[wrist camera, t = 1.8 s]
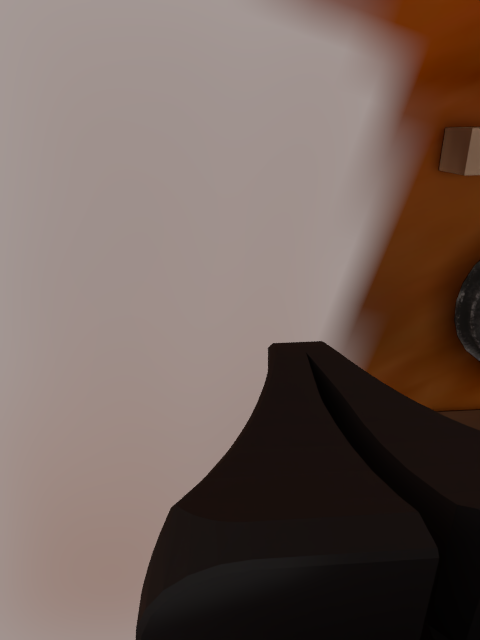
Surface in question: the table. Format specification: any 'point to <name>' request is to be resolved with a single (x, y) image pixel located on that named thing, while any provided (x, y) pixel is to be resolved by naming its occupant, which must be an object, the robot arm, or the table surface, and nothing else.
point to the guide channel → (465, 159)
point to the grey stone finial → (469, 313)
